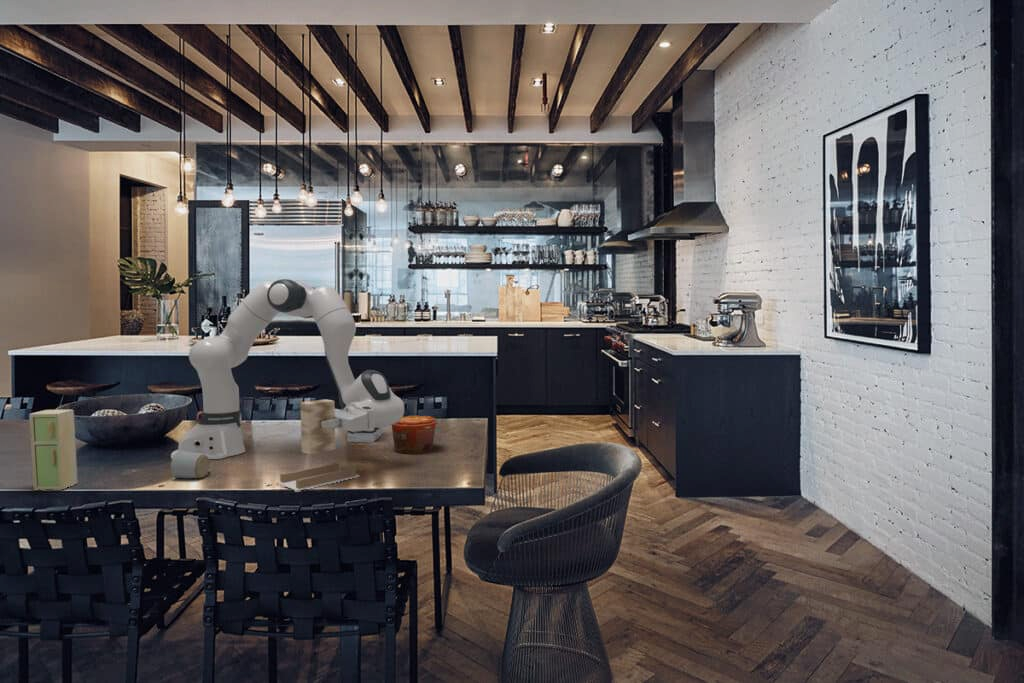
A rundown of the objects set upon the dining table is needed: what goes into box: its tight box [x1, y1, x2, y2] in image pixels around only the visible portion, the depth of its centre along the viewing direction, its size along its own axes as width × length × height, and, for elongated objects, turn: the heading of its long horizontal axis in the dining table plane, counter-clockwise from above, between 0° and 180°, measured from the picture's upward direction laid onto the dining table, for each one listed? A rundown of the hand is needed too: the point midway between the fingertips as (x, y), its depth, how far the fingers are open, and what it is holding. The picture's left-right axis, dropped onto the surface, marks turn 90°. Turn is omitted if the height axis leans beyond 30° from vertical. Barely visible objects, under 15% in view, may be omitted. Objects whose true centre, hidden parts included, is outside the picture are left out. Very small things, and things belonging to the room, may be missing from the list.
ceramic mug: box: [170, 451, 211, 479], centre depth 192 cm, size 11×8×8 cm
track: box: [275, 462, 361, 493], centre depth 188 cm, size 20×11×3 cm, turn 137°
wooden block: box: [300, 399, 336, 455], centre depth 187 cm, size 8×4×14 cm, turn 138°
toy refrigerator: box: [28, 409, 78, 491], centre depth 180 cm, size 8×7×21 cm
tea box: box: [347, 427, 384, 443], centre depth 245 cm, size 15×10×15 cm
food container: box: [391, 415, 438, 455], centre depth 227 cm, size 16×16×11 cm
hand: (315, 423), depth 186 cm, fingers closed on wooden block, 4 cm apart
